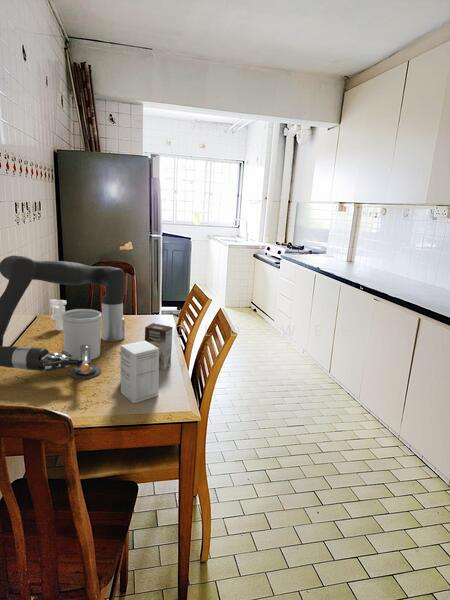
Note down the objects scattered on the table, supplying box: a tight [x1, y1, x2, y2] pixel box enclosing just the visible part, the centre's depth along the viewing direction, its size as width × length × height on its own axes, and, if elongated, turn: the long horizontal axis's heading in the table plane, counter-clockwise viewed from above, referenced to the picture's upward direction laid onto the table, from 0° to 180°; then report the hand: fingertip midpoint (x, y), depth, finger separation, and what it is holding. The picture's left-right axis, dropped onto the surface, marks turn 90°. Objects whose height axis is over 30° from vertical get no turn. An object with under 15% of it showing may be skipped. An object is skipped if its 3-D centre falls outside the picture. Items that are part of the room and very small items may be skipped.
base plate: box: [69, 365, 102, 380], centre depth 142 cm, size 11×11×1 cm
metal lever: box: [74, 345, 97, 376], centre depth 134 cm, size 20×7×9 cm, turn 19°
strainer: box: [49, 298, 67, 332], centre depth 186 cm, size 7×7×15 cm
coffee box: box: [144, 322, 173, 371], centre depth 151 cm, size 9×6×16 cm
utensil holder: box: [62, 308, 102, 360], centre depth 156 cm, size 15×15×18 cm
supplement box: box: [119, 340, 160, 404], centre depth 127 cm, size 10×9×17 cm
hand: (81, 362), depth 130 cm, fingers closed
